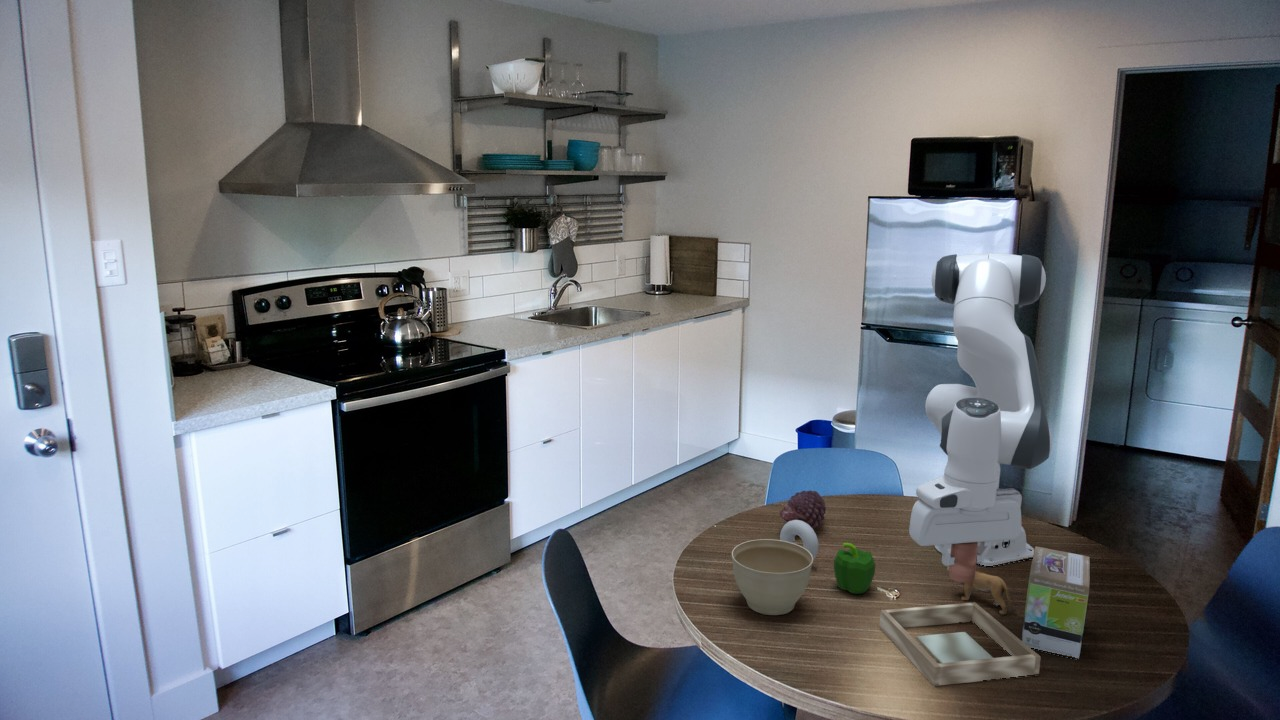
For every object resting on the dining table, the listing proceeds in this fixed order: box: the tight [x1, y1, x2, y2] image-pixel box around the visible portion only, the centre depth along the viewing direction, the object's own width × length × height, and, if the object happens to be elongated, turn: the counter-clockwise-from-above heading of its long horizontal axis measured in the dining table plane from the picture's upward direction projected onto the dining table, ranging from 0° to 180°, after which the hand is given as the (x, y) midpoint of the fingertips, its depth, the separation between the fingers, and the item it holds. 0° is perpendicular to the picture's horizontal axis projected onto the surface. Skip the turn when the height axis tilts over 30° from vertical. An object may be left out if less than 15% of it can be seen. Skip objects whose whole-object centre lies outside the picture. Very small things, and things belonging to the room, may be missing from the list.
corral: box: [879, 601, 1042, 687], centre depth 154 cm, size 20×20×4 cm
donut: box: [779, 520, 820, 560], centre depth 189 cm, size 10×4×10 cm, turn 41°
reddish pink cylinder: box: [948, 542, 978, 583], centre depth 151 cm, size 4×4×7 cm
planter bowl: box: [731, 538, 814, 616], centre depth 169 cm, size 16×16×11 cm
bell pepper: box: [833, 542, 876, 595], centre depth 177 cm, size 8×8×10 cm
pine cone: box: [779, 490, 827, 531], centre depth 208 cm, size 18×10×10 cm, turn 141°
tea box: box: [1021, 546, 1091, 659], centre depth 158 cm, size 15×10×15 cm
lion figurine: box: [946, 565, 1019, 615], centre depth 171 cm, size 15×5×9 cm, turn 50°
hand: (962, 563), depth 151 cm, fingers closed on reddish pink cylinder, 4 cm apart
